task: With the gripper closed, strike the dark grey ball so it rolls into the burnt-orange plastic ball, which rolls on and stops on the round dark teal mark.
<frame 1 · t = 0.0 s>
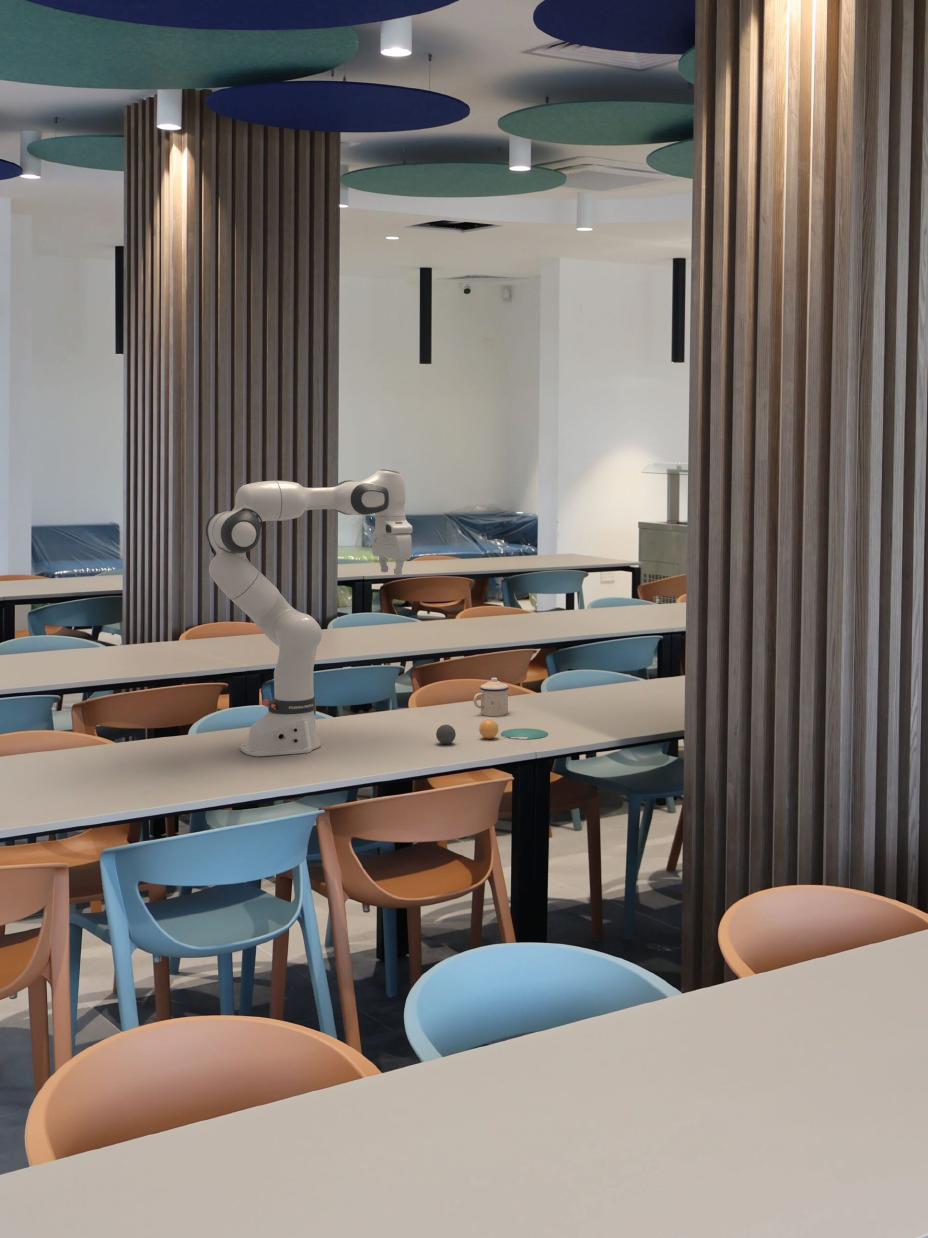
hand: (391, 573, 370), 48 cm above the table, tool pointing down, fingers open, 8 cm apart
object ball: (488, 729, 371), on the table
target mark: (524, 734, 376), on the table
teacup with lid: (490, 715, 405), on the table
dark grey ball: (445, 734, 364), on the table
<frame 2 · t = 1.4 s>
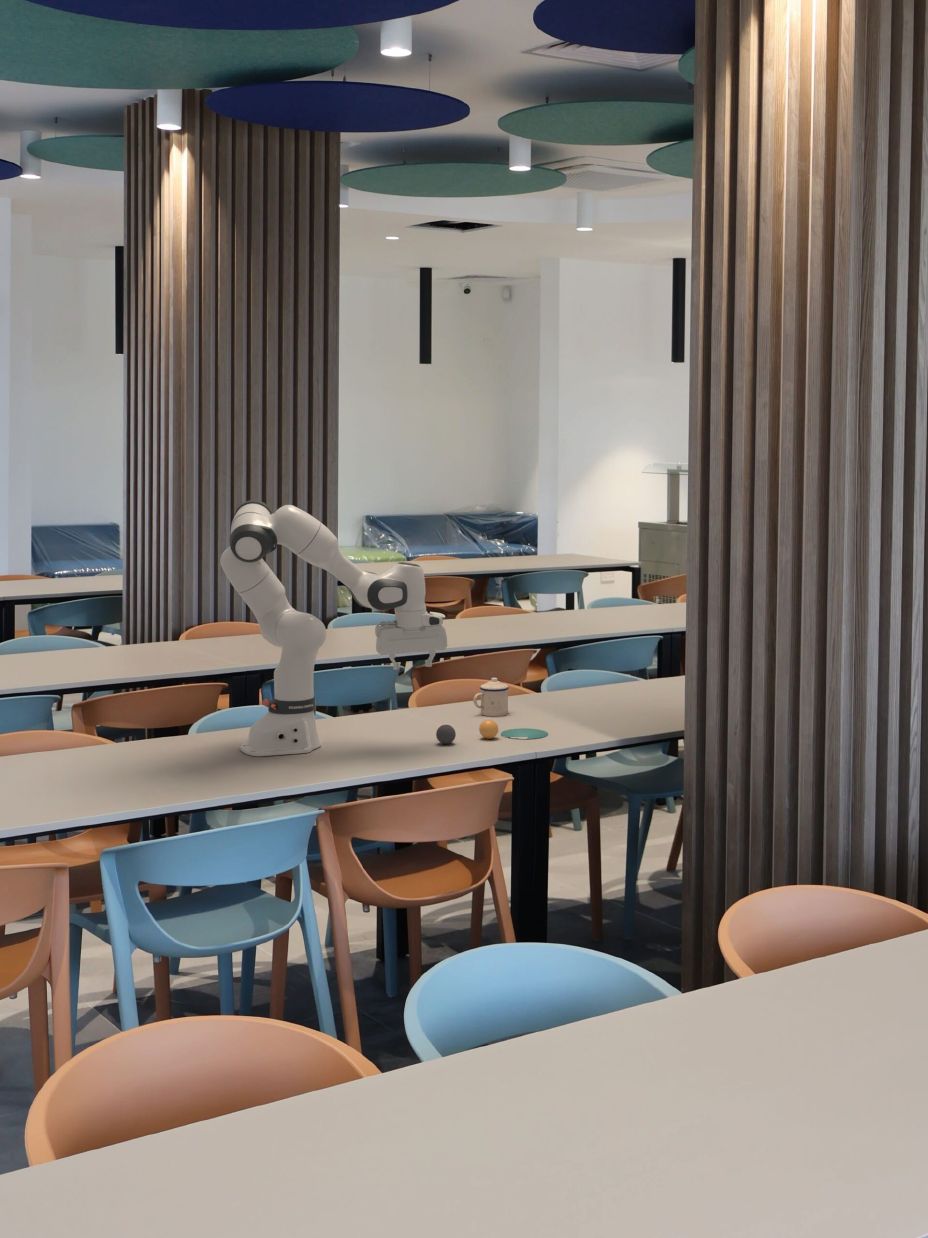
hand: (412, 667, 360), 22 cm above the table, tool pointing down, fingers open, 8 cm apart
nothing on the table moved.
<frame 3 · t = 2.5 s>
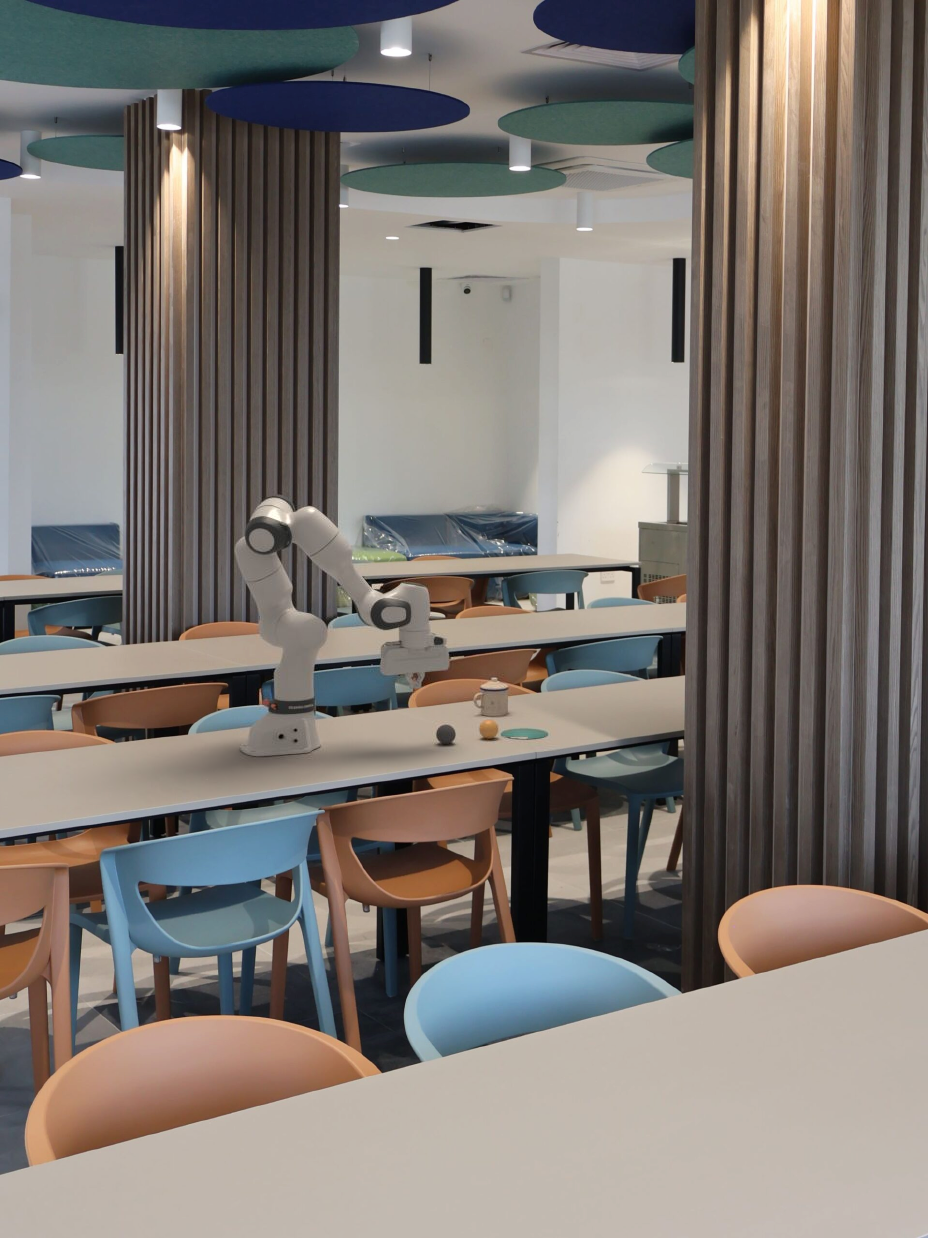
hand: (415, 688, 358), 17 cm above the table, tool pointing down, fingers closed
nothing on the table moved.
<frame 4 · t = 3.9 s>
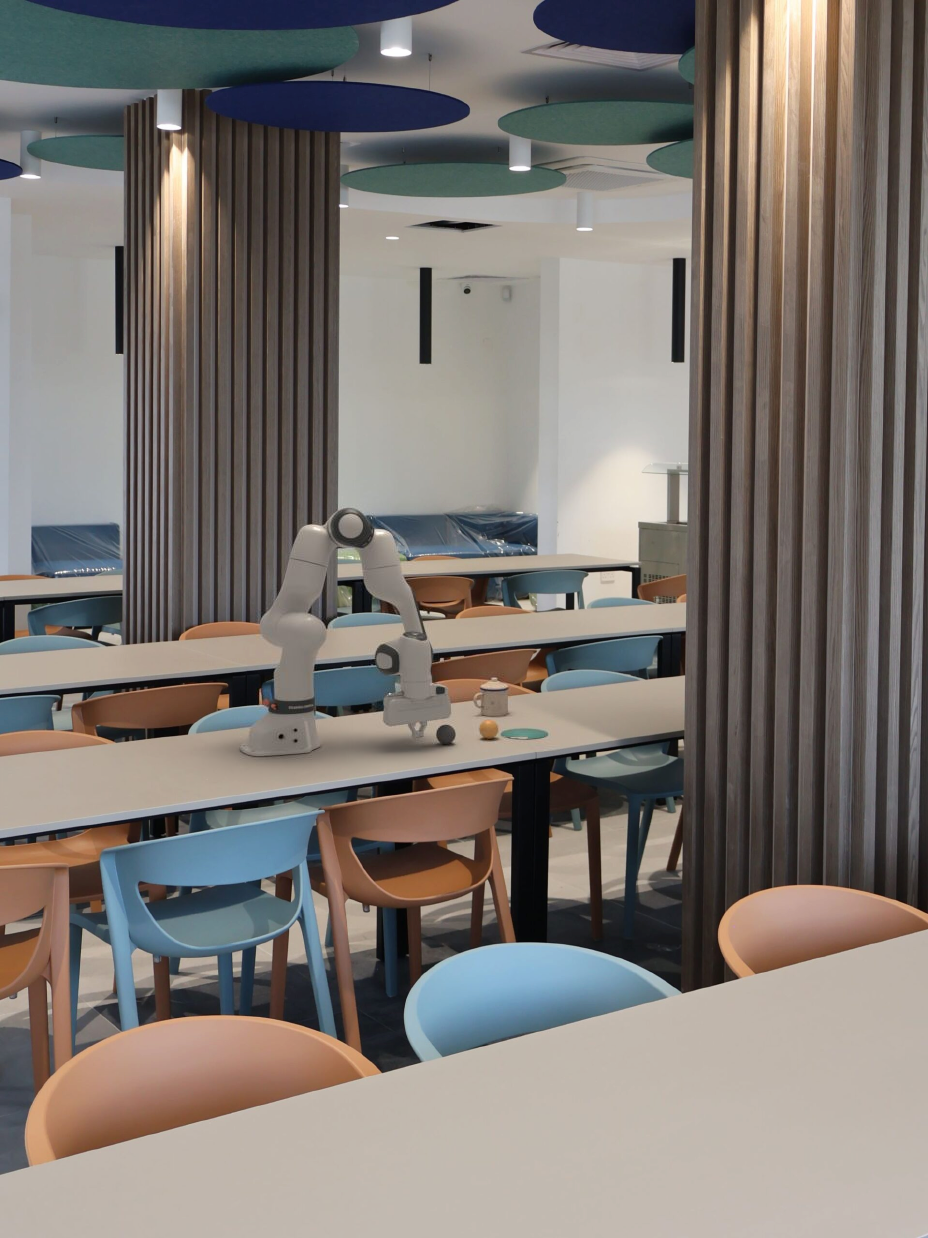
hand: (417, 737, 361), 3 cm above the table, tool pointing down, fingers closed
nothing on the table moved.
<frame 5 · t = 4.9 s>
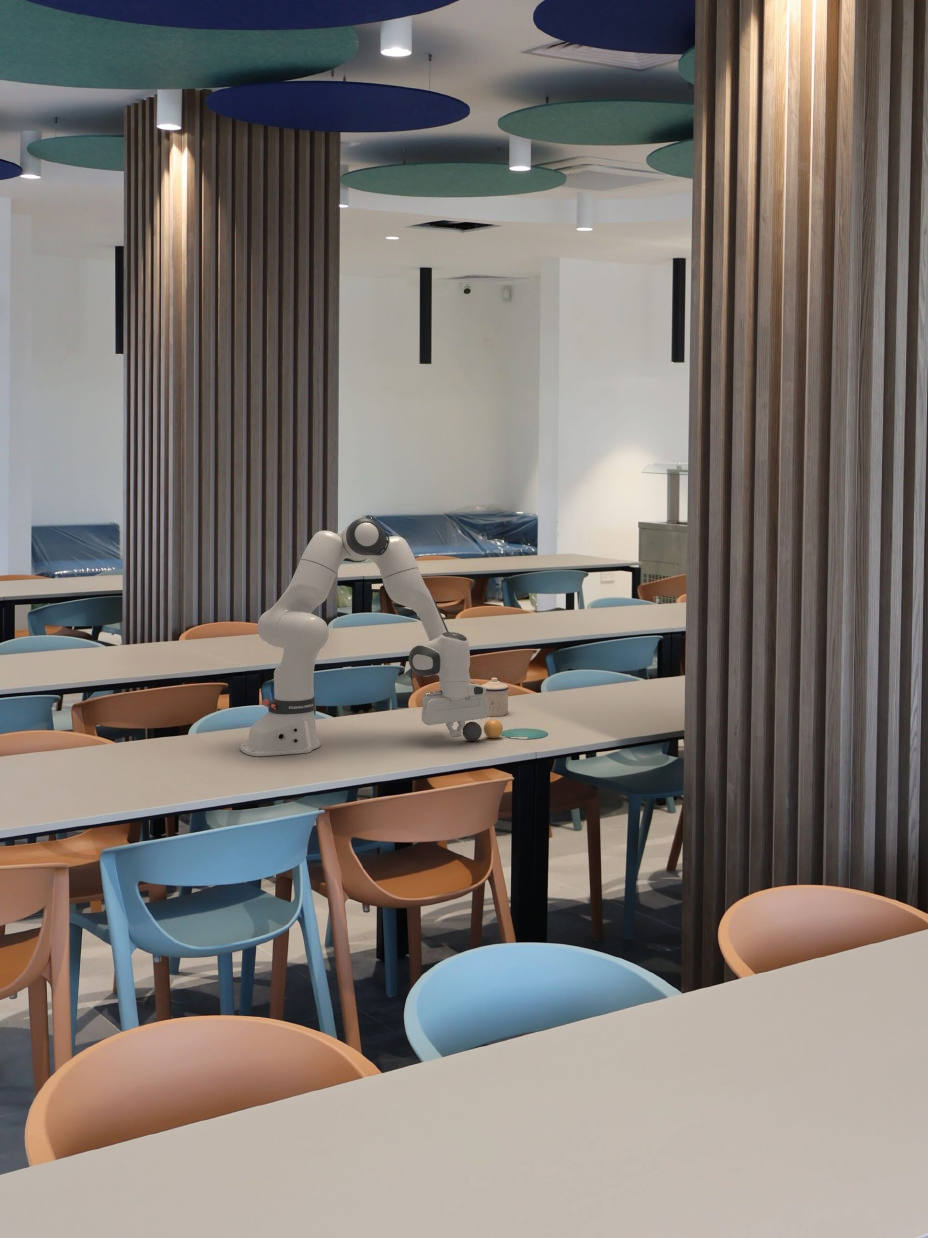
hand: (455, 736, 366), 2 cm above the table, tool pointing down, fingers closed
object ball: (493, 728, 371), on the table
dark grey ball: (472, 731, 368), on the table
everything else where it was.
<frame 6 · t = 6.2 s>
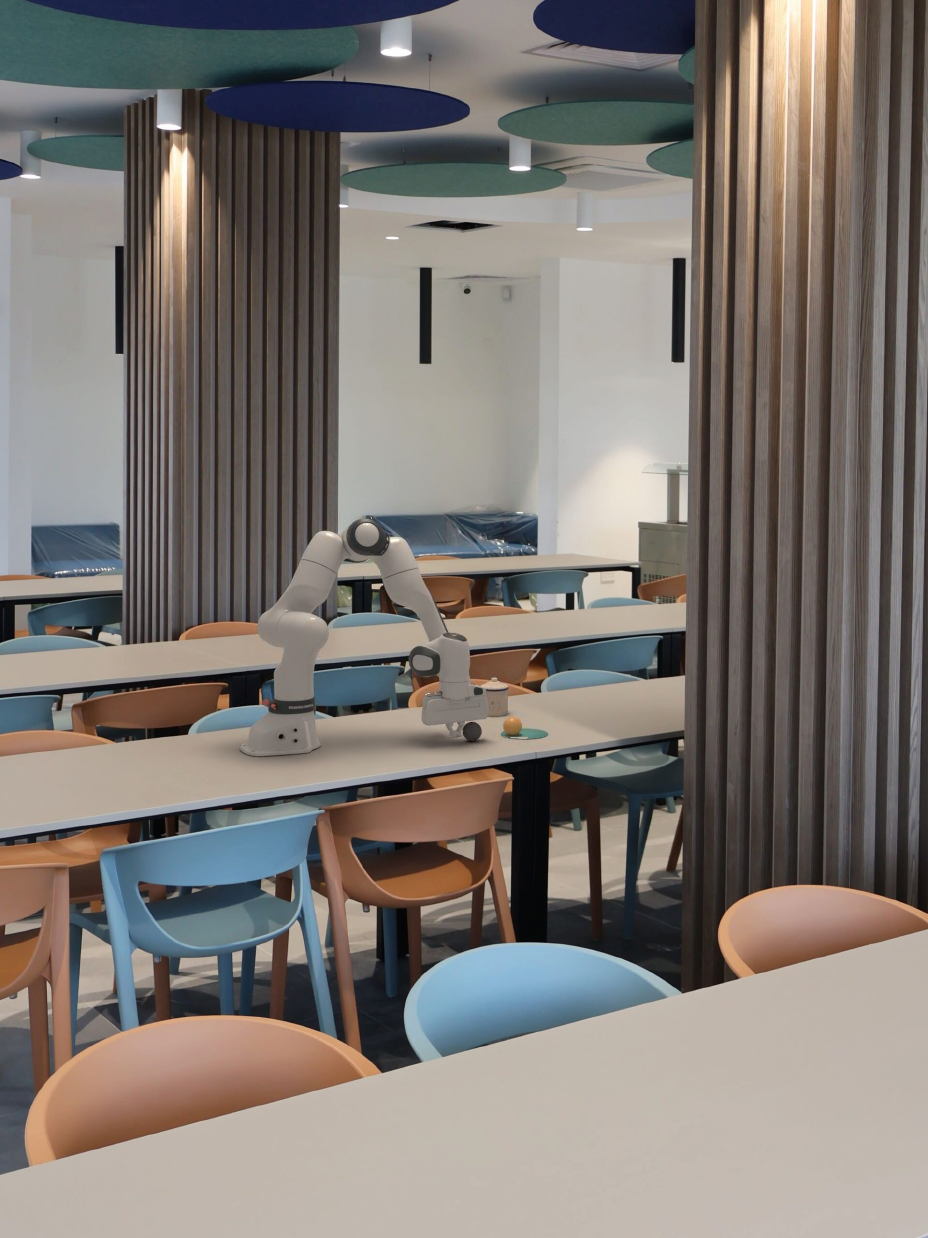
hand: (455, 737, 366), 2 cm above the table, tool pointing down, fingers closed
object ball: (512, 726, 374), on the table
everything else where it was.
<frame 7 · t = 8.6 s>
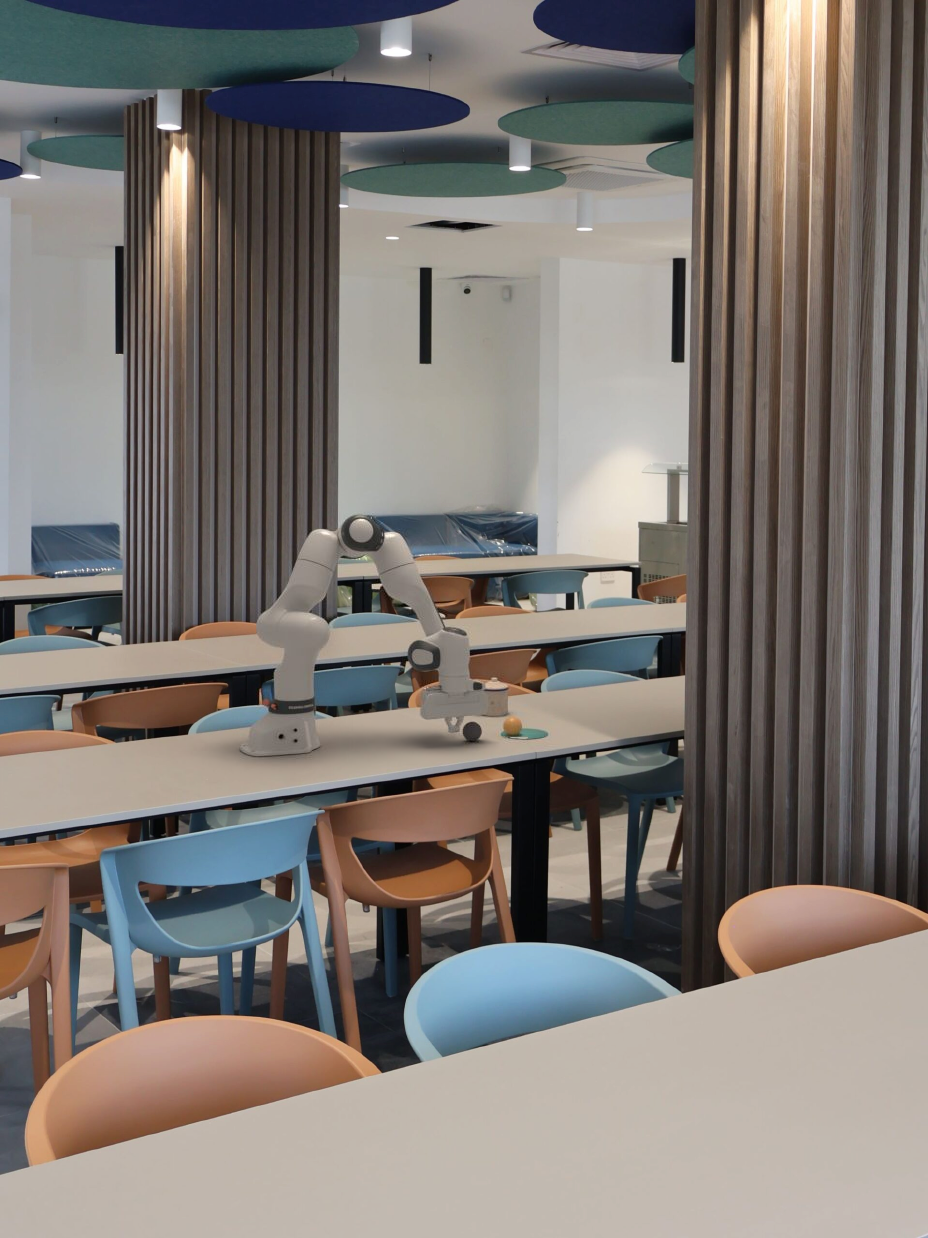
hand: (454, 732, 365), 3 cm above the table, tool pointing down, fingers closed
nothing on the table moved.
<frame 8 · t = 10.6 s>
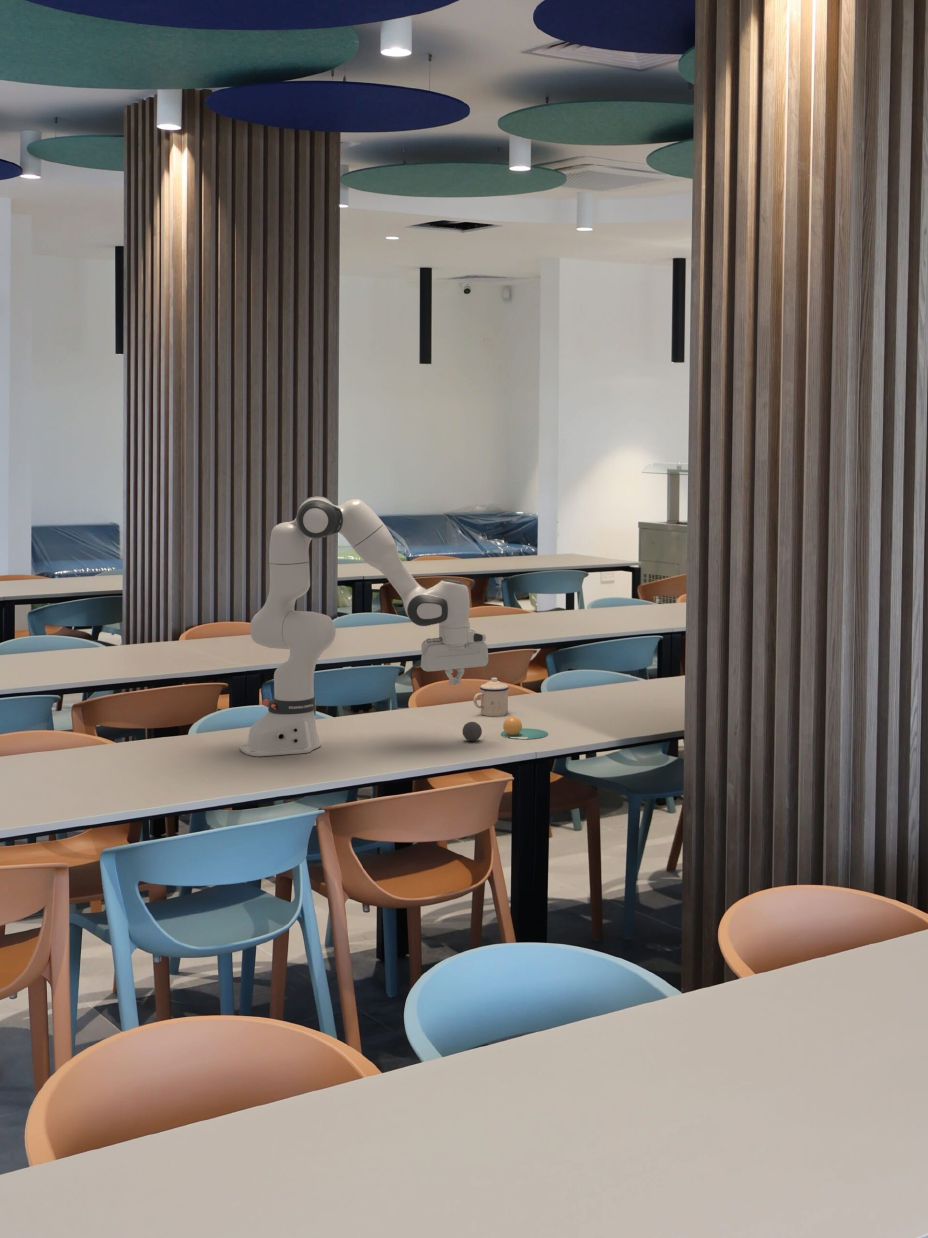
hand: (454, 684, 364), 17 cm above the table, tool pointing down, fingers closed
nothing on the table moved.
at the end: object ball 4.0 cm from the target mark (horizontally); object ball never touched the robot; dark grey ball first touched object ball at 4.8 s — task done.
